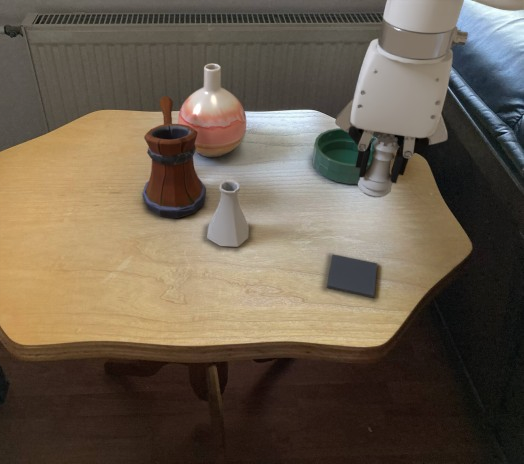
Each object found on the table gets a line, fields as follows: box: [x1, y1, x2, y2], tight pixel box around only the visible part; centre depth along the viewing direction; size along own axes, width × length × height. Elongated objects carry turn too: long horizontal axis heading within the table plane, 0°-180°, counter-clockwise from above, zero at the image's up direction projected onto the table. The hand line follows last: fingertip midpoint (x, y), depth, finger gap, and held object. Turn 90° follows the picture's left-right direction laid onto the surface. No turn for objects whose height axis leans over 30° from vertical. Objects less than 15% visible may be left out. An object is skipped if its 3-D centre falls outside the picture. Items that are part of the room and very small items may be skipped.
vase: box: [177, 63, 248, 158], centre depth 100 cm, size 14×14×18 cm
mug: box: [141, 95, 207, 219], centre depth 90 cm, size 18×12×15 cm, turn 8°
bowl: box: [311, 127, 377, 185], centre depth 100 cm, size 13×13×4 cm
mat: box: [326, 254, 378, 299], centre depth 79 cm, size 7×7×1 cm
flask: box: [206, 179, 250, 248], centre depth 83 cm, size 7×7×10 cm
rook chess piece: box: [357, 133, 400, 198], centre depth 67 cm, size 4×4×8 cm
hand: (378, 173), depth 68 cm, fingers closed on rook chess piece, 3 cm apart
